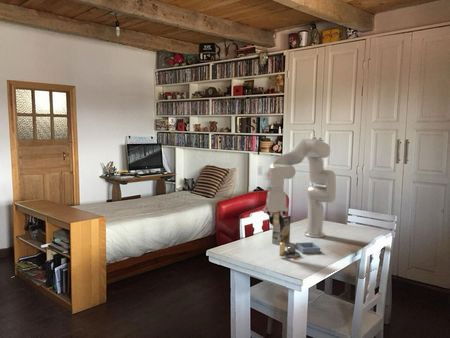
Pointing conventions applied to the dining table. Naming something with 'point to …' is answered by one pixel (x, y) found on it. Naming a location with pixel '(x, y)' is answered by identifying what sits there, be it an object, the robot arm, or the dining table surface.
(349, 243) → the dining table surface
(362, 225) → the dining table surface
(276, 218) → the stop peg
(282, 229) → the coffee box
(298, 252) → the crank base
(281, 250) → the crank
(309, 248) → the tray
